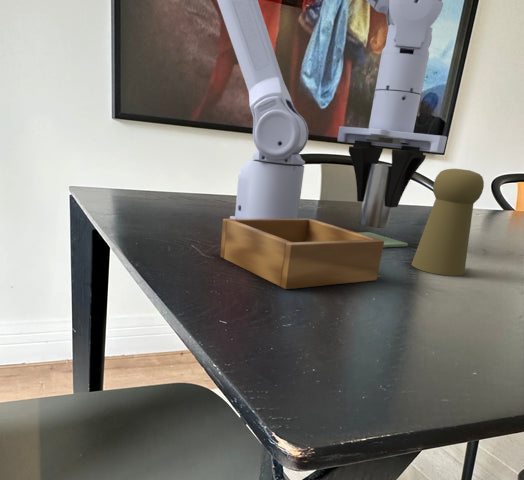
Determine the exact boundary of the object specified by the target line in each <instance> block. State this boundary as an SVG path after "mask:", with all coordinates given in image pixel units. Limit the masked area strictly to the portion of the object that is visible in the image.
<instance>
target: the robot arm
mask: <svg viewBox="0 0 524 480" xmlns="http://www.w3.org/2000/svg"><path fill="white" fill-rule="evenodd" d="M216 1H217V4H218V7H219V10H220V12H221V13H220V14H221V15H222V20H223V21H224V25H225V27H226V30H227V33H228V36H229V38H230V42H231V45H232V48H233V51H234V53H235V57H236V59H237V62H238V65H239V68H240V71H241V74H242V77H243V79H244V83H245V86H246V88H247V91H248V99H249V103H248V105H249V108H250V111H251V116H252V119H253V126H252V139H253V143H254V145H255V147H256V149H257V150H256V151H255V153H253V154H252V159H251V160H248V161H246V162H245V164H243V165H242V167H241V168H240V170H239V173H238V176H237V186H236V200H235V211H234V215H230V216H229V219H282V218H299V210H300V204H301V195H302V189H303V181H304V173H305V165H306V160H304V159H303V158H302V156H301V154H300V153H301V152H303V150H304V149H305V147H306V145H307V143H308V140H309V128H308V123H307V122H306V120H305V119H304V117H303V116H302V115H301V114H300V113H299V112H298V111H297V109H296V108H295V105H294V103H293V100H292V97H291V95H290V92H289V90H288V88H287V86H286V84H285V81H284V77H283V75H282V72H281V69H280V66H279V63H278V59H277V56H276V53H275V50H274V46H273V44H272V40H271V38H270V34H269V31H268V28H267V25H266V22H265V19H264V16H263V13H262V10H261V9H262V8H261V6H260V3H259V0H216ZM365 1H366V2H367V3H368V4H369V5H370V6H371V7H372V8H373V9H374V10H375V12H377V13H380V14H381V13H382V14H385V15H386V24H387V25H386V26H387V34H386V40H385V45H384V47H383V48H382V50H381V53H380V60H379V66H378V71H377V78H376V83H375V89H374V94H373V100H372V106H371V107H372V108H371V112H370V118H369V124H368V127H367V128H365V127H351V126H341V125H340V126H339V127H338V133H337V142H342V143H349V144H353V145H349V146H348V154H349V156H350V159H351V162H352V166H353V170H354V175H355V176H354V177H355V184H356V202H360V203H362V202H363V197H364V191H365V185H366V180H367V174H368V169H369V163H378V164H379V161H380V158H381V156H382V152H383V151H384V147H385V148H386V147H387V148H392V149H391V165H392V170H391V180H390V186H389V190H388V195H387V202H386V207H391V209H392V208H398V206H399V204H400V201H401V199H402V197H403V194H404V193H405V190H406V189H407V186H408V185H409V184H410V181H411V180H412V178H413V176H414V175H415V173H417V170H419V168H420V167H421V166H422V164H423V163H424V161H425V160H426V157H427V154H424V152H430V153H437V154H444V151H445V147H446V143H447V139H448V137H447V136H445V135H438V134H436V135H435V134H428V133H427V134H426V133H419V132H418V133H417V132H414V130H415V125H416V120H417V117H418V111H419V106H420V101H421V96H422V92H423V87H424V81H425V77H426V73H427V68H428V62H429V58H430V51H429V49H430V47H431V44H432V40H433V34H432V33H433V27H432V26H433V24H434V23H435V22H436V21H437V20H438V18H439V16H440V14H441V12H442V10H443V6H444V2H443V0H365ZM379 138H383V139H393V140H399V143H395V142H394V143H392V142H384V141H379Z"/></svg>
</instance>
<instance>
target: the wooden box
mask: <svg viewBox="0 0 524 480" xmlns="http://www.w3.org/2000/svg"><path fill="white" fill-rule="evenodd" d="M220 240H221V242H220V254H219V255H220V258H222V259H224V260H226V261H227V262H230V263H232V264H234V265H236V266H238V267H240V268H242V269H244V270H245V271H247V272H250V273H251V274H253V275H256V276H258V277H260V278H262V279H264V280H266V281H267V282H270V283H272V284H274V285H276V286H278V287H280V288H281V289H284V290H294V289H303V288H313V287H323V286H332V285H333V286H334V285H343V284H351V283H363V282H372V281H373V282H374V281H377V279H378V274H379V269H380V264H381V259H382V255H383V249H384V248H383V245H384V241H383V240H379V239H376V238H373V237H369V236H366V235H363V234H360V233H359V232H357V231H353V230H349V229H347V228H343V227H339V226H336V225H334V224H330V223H326V222H323V221H319V220H316V219H313V218H305V217H304V218H302V217H301V218H299V217H298V218H282V219H230V218H223V219H222V228H221V239H220Z"/></svg>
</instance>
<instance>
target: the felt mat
mask: <svg viewBox="0 0 524 480" xmlns="http://www.w3.org/2000/svg"><path fill="white" fill-rule="evenodd" d="M358 233H360V234H363V235H366V236H369V237H373V238H376V239H379V240H383V241H384V245H383V249H384V248H399V247H408V246H409V243H407V242H405V241H401V240H398V239H394V238H390V237H387V236H384V235H380V234H377V233H374V232H370V231H364V232H362V231H361V232H358Z"/></svg>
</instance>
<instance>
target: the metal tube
mask: <svg viewBox="0 0 524 480" xmlns="http://www.w3.org/2000/svg"><path fill="white" fill-rule="evenodd" d="M391 170H392V164H386V163H379V162H378V163H369V169H368V174H367V180H366V185H365V191H364V197H363V202H361V208H360V214H359V219H358V225H359V226H362V227H367V228H372V229H387V228H388V227H389V222H390V218H391V212H392V208H391V207H386V202H387V195H388V190H389V186H390V180H391Z"/></svg>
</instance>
